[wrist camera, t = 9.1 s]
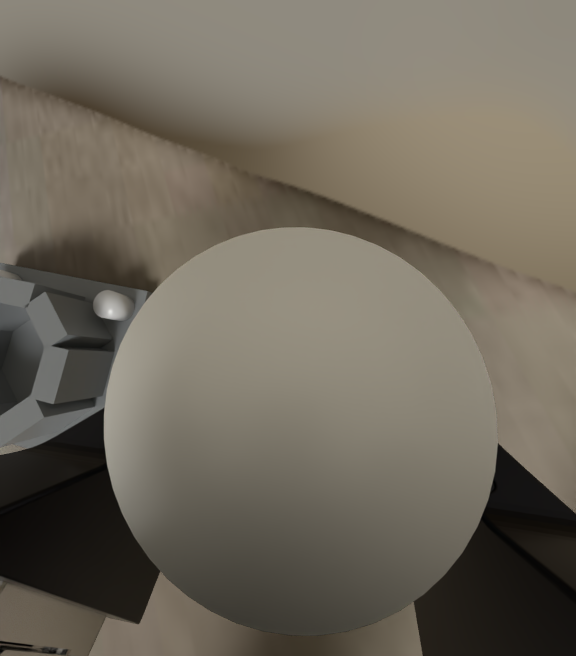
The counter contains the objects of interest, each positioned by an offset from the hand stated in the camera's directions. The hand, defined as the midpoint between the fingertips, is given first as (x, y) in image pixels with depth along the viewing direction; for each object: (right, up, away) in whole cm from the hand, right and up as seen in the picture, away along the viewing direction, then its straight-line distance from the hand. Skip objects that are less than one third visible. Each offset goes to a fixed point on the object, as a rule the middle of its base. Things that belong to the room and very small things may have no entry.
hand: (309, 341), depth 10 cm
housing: (-17, -2, +11) cm, 20 cm away
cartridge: (+1, -2, +6) cm, 6 cm away
